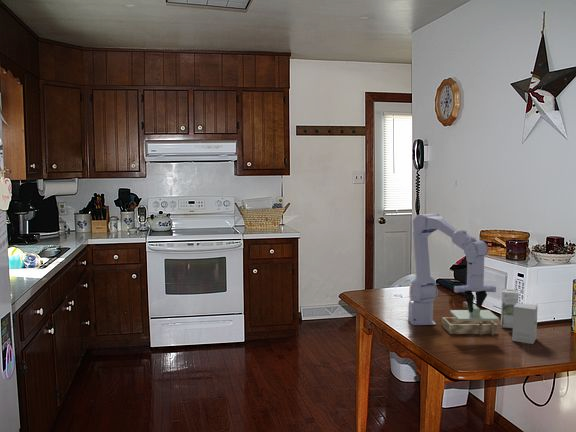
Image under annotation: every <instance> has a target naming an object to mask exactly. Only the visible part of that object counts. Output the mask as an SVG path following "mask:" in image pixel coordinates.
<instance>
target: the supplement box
mask: <svg viewBox="0 0 576 432" xmlns="http://www.w3.org/2000/svg"><path fill="white" fill-rule="evenodd" d="M538 306H539V305H538V304H537V305H536V304H529V303H523V302H522V303H521V302H518V303H516V305H515V306H514V311H513V329H512V335H511V337H512V338H511V341H513V342H519V343H524V344H532V345H534V343H535V341H536V339H537V329H538V328H537V327H538V326H537V325H538V309H539V307H538Z"/></svg>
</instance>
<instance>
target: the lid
mask: <svg viewBox="0 0 576 432" xmlns="http://www.w3.org/2000/svg"><path fill="white" fill-rule="evenodd" d="M449 313H450V315H452V316H453V317H455V318H456V319H457V320H458V321H493V322H495V321H496V322H498V321H500V318H499V317H498V316H497V315H496V314H494V313H493V312H492V311H491V310H489V309H481V310H480V308H479V307H477V306H476V303H473V312H469V309H468V310H467V309H450V310H449Z"/></svg>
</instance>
